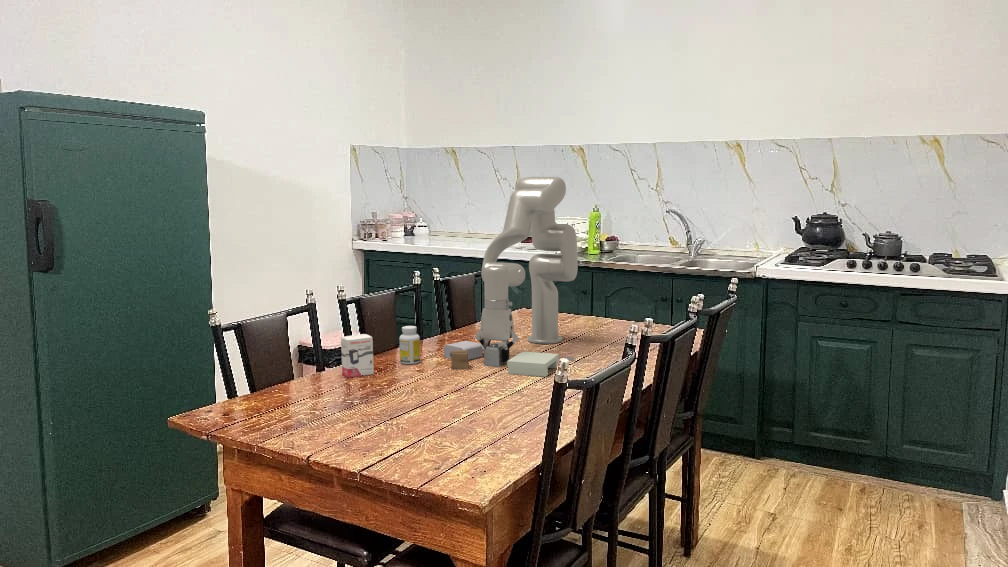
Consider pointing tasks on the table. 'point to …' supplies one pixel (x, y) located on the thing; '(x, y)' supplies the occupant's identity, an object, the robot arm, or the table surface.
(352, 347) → the white product box
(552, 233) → the robot arm
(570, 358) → the grey disc
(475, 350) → the charger
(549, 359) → the stand
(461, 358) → the walnut block
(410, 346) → the pill bottle
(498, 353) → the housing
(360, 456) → the table surface
